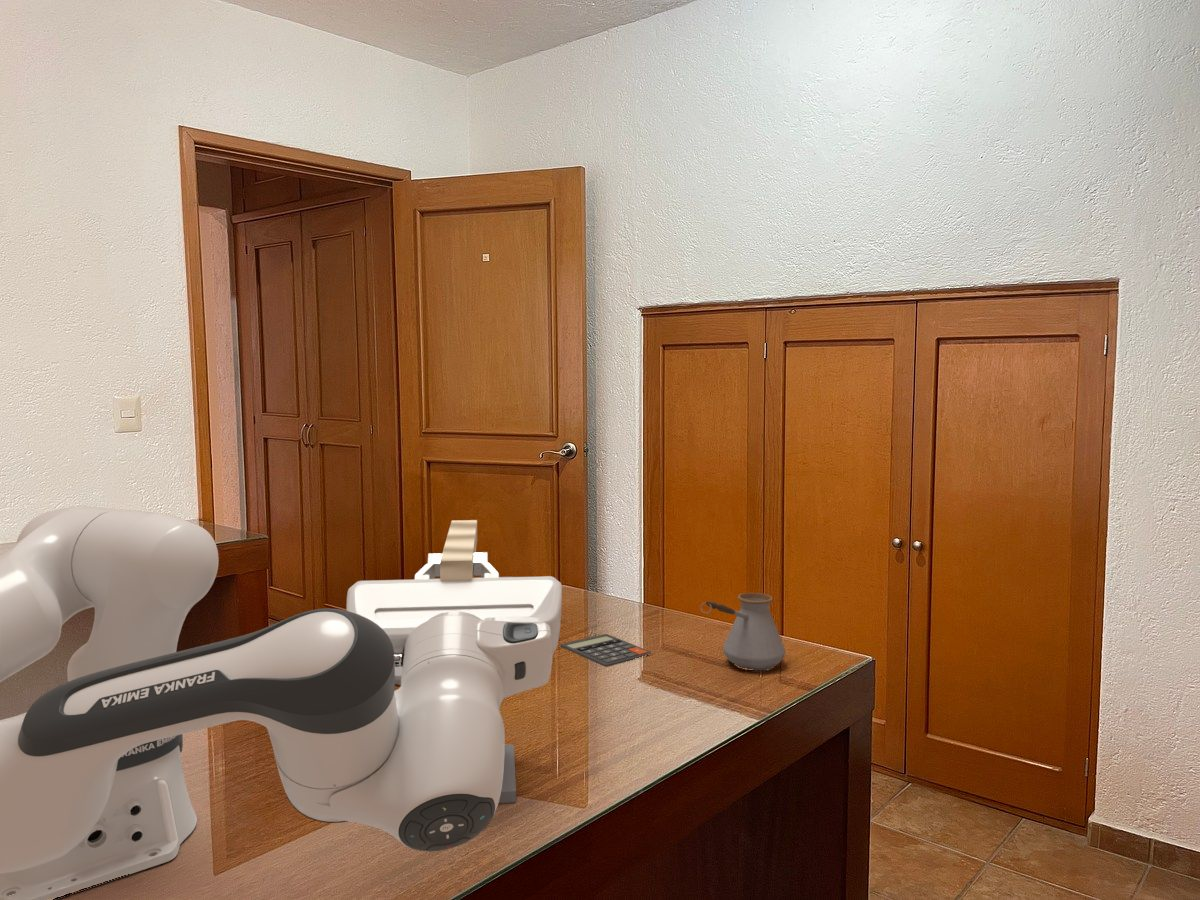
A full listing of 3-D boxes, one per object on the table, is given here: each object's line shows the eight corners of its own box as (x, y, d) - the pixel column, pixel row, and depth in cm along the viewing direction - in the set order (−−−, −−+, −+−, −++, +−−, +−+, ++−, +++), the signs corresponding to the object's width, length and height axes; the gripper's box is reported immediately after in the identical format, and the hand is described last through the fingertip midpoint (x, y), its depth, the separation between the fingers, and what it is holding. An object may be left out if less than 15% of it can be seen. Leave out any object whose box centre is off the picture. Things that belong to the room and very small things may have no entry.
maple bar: (472, 586, 85) (471, 560, 85) (440, 586, 85) (440, 561, 85) (477, 540, 107) (477, 520, 107) (451, 541, 107) (451, 520, 106)
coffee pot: (745, 650, 174) (747, 575, 173) (797, 664, 166) (799, 585, 165) (677, 678, 159) (678, 595, 157) (730, 695, 151) (732, 608, 149)
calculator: (605, 664, 165) (559, 643, 176) (605, 668, 165) (559, 647, 176) (653, 651, 172) (606, 632, 183) (653, 656, 172) (606, 637, 184)
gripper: (337, 691, 80) (356, 582, 91) (565, 682, 82) (556, 577, 93) (329, 642, 76) (350, 535, 87) (568, 634, 78) (558, 531, 90)
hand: (458, 557), depth 90 cm, fingers closed on maple bar, 3 cm apart
